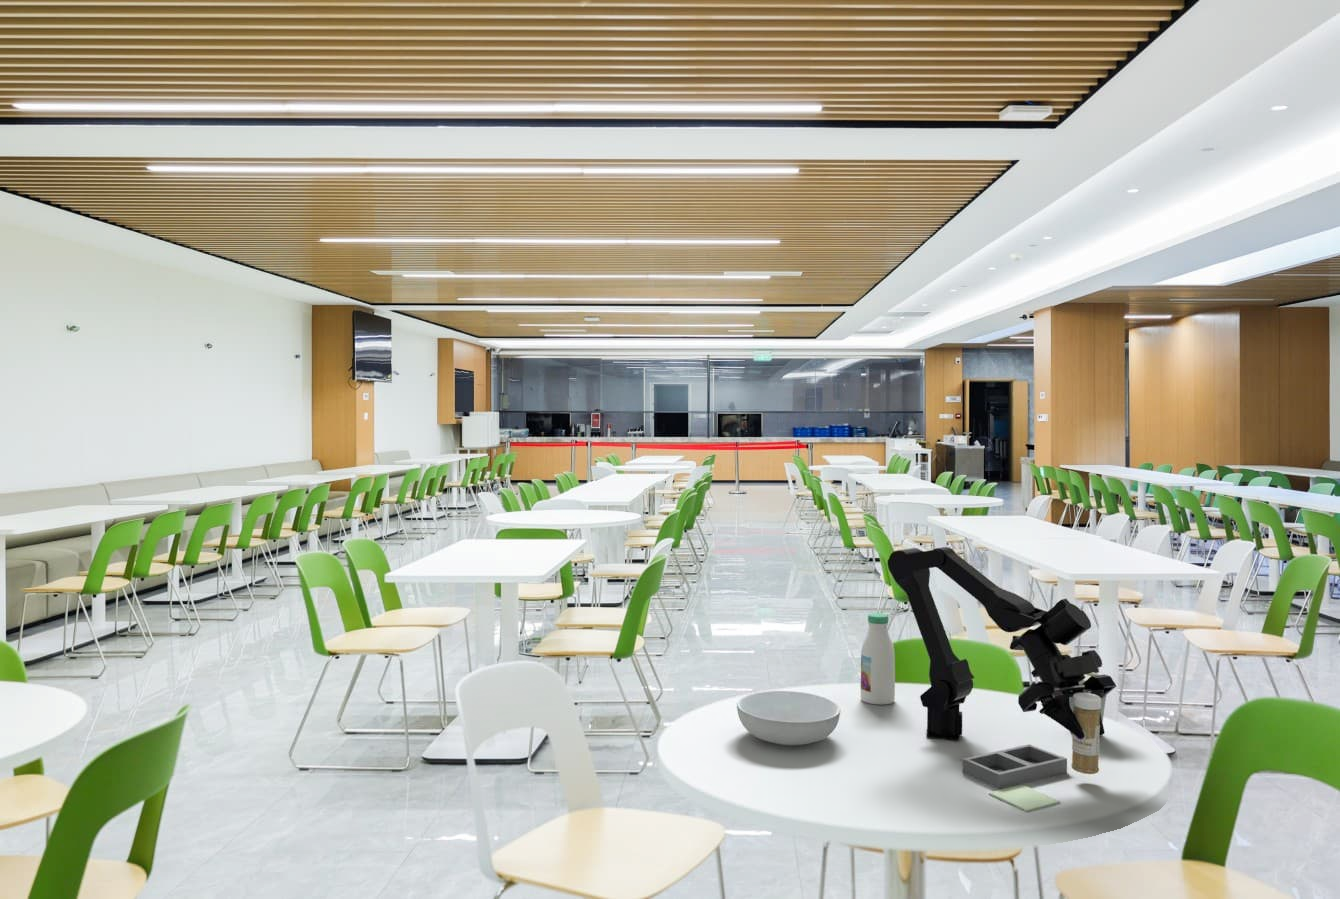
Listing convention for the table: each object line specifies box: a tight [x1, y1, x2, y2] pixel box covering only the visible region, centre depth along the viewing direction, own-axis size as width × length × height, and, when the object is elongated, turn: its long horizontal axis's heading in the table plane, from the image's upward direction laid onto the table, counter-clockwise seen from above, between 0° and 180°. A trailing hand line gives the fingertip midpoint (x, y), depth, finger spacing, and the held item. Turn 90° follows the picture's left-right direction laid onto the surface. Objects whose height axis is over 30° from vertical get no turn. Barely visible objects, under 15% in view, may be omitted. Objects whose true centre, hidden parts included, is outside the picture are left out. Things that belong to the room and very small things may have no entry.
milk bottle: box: [860, 613, 896, 706], centre depth 210 cm, size 8×8×20 cm
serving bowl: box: [736, 690, 841, 746], centre depth 184 cm, size 21×21×7 cm
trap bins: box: [961, 744, 1068, 790], centre depth 166 cm, size 17×9×2 cm, turn 117°
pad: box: [988, 784, 1061, 813], centre depth 154 cm, size 8×8×1 cm
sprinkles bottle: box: [1071, 693, 1101, 775], centre depth 161 cm, size 5×5×14 cm
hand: (1092, 736), depth 160 cm, fingers closed on sprinkles bottle, 4 cm apart
